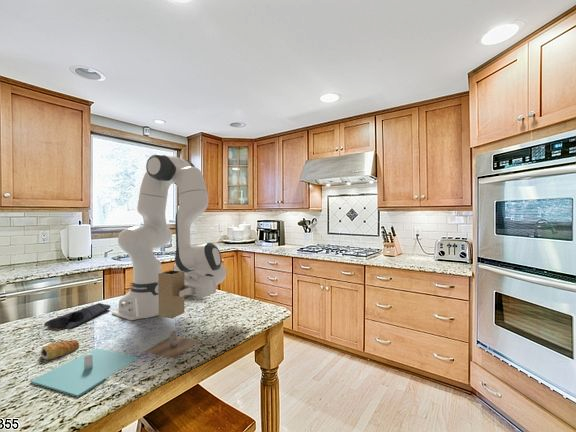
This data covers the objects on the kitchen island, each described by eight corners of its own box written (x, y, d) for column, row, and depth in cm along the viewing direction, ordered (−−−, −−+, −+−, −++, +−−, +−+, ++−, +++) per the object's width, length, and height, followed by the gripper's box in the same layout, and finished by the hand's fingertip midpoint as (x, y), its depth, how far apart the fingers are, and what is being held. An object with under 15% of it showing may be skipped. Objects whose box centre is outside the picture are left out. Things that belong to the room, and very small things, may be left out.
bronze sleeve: (158, 316, 89) (158, 273, 89) (171, 310, 94) (170, 269, 94) (172, 318, 87) (172, 275, 87) (184, 312, 93) (184, 271, 92)
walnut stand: (144, 353, 87) (144, 336, 87) (171, 337, 98) (171, 321, 98) (175, 360, 83) (175, 342, 83) (199, 341, 95) (199, 325, 95)
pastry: (73, 344, 94) (73, 333, 94) (83, 349, 91) (83, 337, 91) (38, 357, 86) (38, 345, 86) (47, 363, 83) (47, 350, 83)
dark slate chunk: (116, 310, 126) (116, 300, 126) (68, 331, 105) (68, 319, 104) (90, 308, 130) (89, 298, 129) (38, 327, 108) (37, 315, 108)
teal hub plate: (30, 383, 73) (29, 365, 72) (96, 349, 90) (96, 335, 90) (77, 397, 67) (77, 378, 67) (139, 359, 84) (138, 343, 84)
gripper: (174, 271, 106) (145, 280, 93) (219, 276, 99) (195, 286, 86) (174, 287, 106) (145, 298, 93) (219, 293, 100) (195, 306, 87)
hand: (169, 292), depth 90 cm, fingers closed on bronze sleeve, 6 cm apart
